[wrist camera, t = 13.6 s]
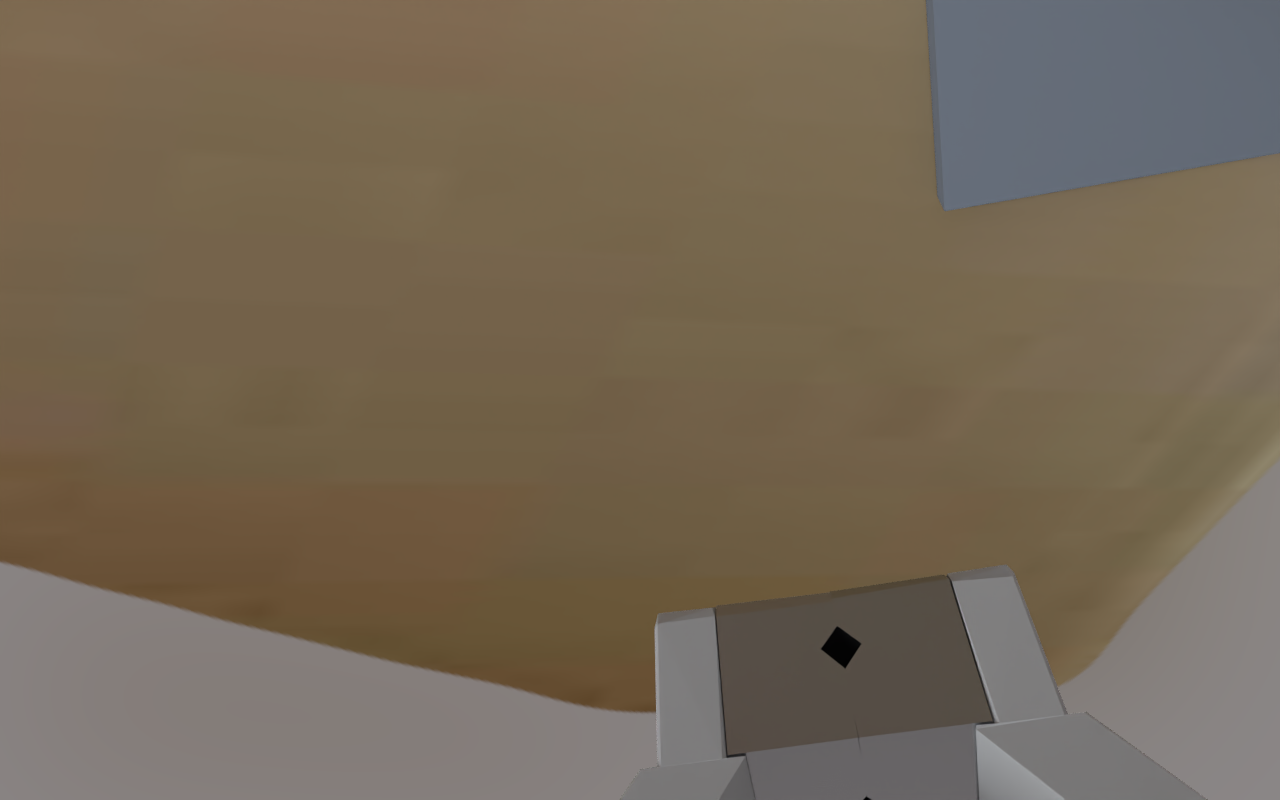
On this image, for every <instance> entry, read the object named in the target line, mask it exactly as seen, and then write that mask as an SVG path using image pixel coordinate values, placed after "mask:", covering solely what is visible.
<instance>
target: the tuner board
mask: <svg viewBox="0 0 1280 800" xmlns="http://www.w3.org/2000/svg"><path fill="white" fill-rule="evenodd" d="M926 8H927V25H928V42H929V59H930V76H931V93H932V110H933V127H934V144H935V161H936V178H937V195H938V198H939V201H940V203H941V205H942V207H943V209H944V211H948V210H954V209H960V208H966V207H971V206H977V205H983V204H989V203H994V202H1000V201H1006V200H1012V199H1017V198H1023V197H1029V196H1035V195H1041V194H1046V193H1052V192H1058V191H1064V190H1069V189H1075V188H1081V187H1087V186H1092V185H1098V184H1104V183H1110V182H1115V181H1121V180H1127V179H1133V178H1139V177H1144V176H1150V175H1156V174H1162V173H1167V172H1173V171H1179V170H1185V169H1190V168H1196V167H1202V166H1208V165H1213V164H1219V163H1225V162H1231V161H1237V160H1242V159H1248V158H1254V157H1260V156H1265V155H1271V154H1277V153H1280V0H926Z"/></svg>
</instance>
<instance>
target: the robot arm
mask: <svg viewBox="0 0 1280 800" xmlns="http://www.w3.org/2000/svg"><path fill="white" fill-rule="evenodd" d="M655 668H656V716H657V717H656V718H657V767H653V768H647V769H641V770H640V771H639V772H638V773H637V775H636V776H635V778H634V779H633V781H632V782H631V784H630V785H629V787H628V788H627V789H626V791H625V792H624V794H623V795H622V797H621V798H620V800H1207V799H1206V798H1204V797H1203V796H1202V795H1200V794H1199V793H1198V792H1196V791H1195V790H1194V789H1192V788H1191V787H1189V786H1188V785H1186V784H1185V783H1184V782H1182V781H1181V780H1180V779H1178V778H1177V777H1176V776H1174V775H1173V774H1171V773H1170V772H1169V771H1167V770H1166V769H1165V768H1163V767H1162V766H1160V765H1159V764H1158V763H1156V762H1155V761H1153V760H1152V759H1151V758H1149V757H1148V756H1146V755H1145V754H1144V753H1142V752H1141V751H1140V750H1138V749H1137V748H1135V747H1134V746H1133V745H1131V744H1130V743H1128V742H1127V741H1126V740H1124V739H1123V738H1122V737H1120V736H1119V735H1118V734H1116V733H1115V732H1113V731H1112V730H1111V729H1109V728H1108V727H1106V726H1105V725H1103V724H1102V723H1101V722H1099V721H1098V720H1097V719H1095V718H1094V717H1093V716H1091V715H1090V714H1089V713H1087V712H1084V713H1073V714H1068V713H1067V711H1066V708H1065V706H1064V703H1063V700H1062V698H1061V695H1060V693H1059V690H1058V687H1057V684H1056V682H1055V679H1054V677H1053V674H1052V671H1051V669H1050V666H1049V663H1048V661H1047V658H1046V655H1045V653H1044V650H1043V648H1042V645H1041V642H1040V640H1039V637H1038V634H1037V632H1036V629H1035V626H1034V624H1033V621H1032V619H1031V616H1030V613H1029V611H1028V608H1027V605H1026V603H1025V600H1024V598H1023V595H1022V592H1021V590H1020V587H1019V584H1018V582H1017V579H1016V576H1015V574H1014V572H1013V571H1012V570H1011V569H1010V568H1009V567H1008V566H1007V565H1001V566H994V567H988V568H981V569H975V570H968V571H962V572H955V573H949V574H947V576H945V575H937V576H930V577H924V578H917V579H910V580H904V581H897V582H891V583H884V584H877V585H871V586H864V587H857V588H851V589H844V590H837V591H831V592H829V593H821V594H812V595H804V596H795V597H786V598H778V599H769V600H761V601H752V602H744V603H735V604H727V605H718V606H716V607H713V608H704V609H695V610H686V611H677V612H668V613H659V614H658V616H657V621H656V625H655Z"/></svg>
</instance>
